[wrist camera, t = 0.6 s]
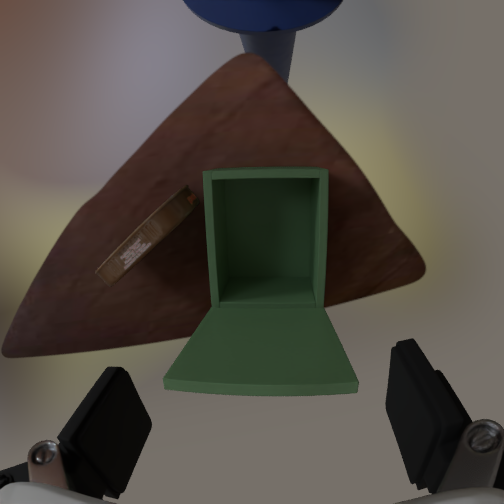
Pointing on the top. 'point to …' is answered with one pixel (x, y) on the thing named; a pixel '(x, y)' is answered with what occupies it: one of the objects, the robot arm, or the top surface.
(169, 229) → the tin
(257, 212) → the chest
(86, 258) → the top surface
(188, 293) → the top surface
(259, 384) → the lid
